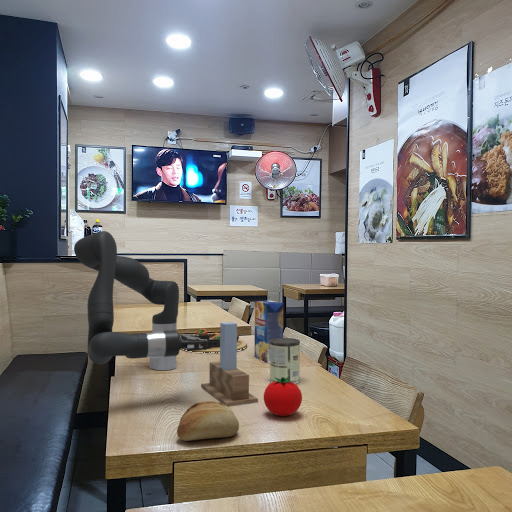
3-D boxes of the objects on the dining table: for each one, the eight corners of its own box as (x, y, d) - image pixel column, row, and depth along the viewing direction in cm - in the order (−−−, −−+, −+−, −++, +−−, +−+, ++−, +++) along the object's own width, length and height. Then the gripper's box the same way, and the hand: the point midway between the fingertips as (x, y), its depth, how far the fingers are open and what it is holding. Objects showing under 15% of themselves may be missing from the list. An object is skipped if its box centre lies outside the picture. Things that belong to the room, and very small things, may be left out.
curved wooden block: (257, 402, 137) (258, 374, 137) (226, 406, 133) (226, 378, 133) (229, 383, 157) (229, 359, 157) (201, 386, 153) (201, 362, 153)
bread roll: (171, 434, 112) (172, 401, 112) (230, 426, 118) (230, 394, 118) (182, 450, 103) (182, 413, 103) (245, 439, 109) (245, 405, 109)
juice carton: (283, 361, 191) (283, 303, 191) (266, 363, 188) (267, 303, 188) (270, 355, 202) (270, 300, 202) (254, 357, 199) (254, 301, 199)
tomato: (270, 406, 133) (271, 371, 133) (306, 411, 129) (306, 375, 129) (257, 418, 123) (258, 380, 124) (295, 423, 120) (295, 384, 120)
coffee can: (274, 376, 167) (274, 337, 167) (302, 379, 164) (302, 338, 164) (265, 383, 158) (266, 341, 158) (295, 386, 154) (295, 343, 154)
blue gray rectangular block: (224, 370, 142) (224, 324, 142) (219, 367, 146) (220, 322, 146) (236, 369, 144) (237, 323, 144) (231, 366, 148) (232, 322, 148)
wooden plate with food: (175, 343, 232) (175, 326, 232) (237, 339, 241) (237, 323, 241) (185, 357, 201) (185, 338, 201) (255, 353, 211) (255, 334, 211)
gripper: (167, 334, 129) (222, 331, 136) (155, 327, 142) (205, 325, 149) (167, 361, 129) (222, 357, 136) (155, 352, 142) (205, 348, 149)
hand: (213, 340), depth 143 cm, fingers open, 8 cm apart
